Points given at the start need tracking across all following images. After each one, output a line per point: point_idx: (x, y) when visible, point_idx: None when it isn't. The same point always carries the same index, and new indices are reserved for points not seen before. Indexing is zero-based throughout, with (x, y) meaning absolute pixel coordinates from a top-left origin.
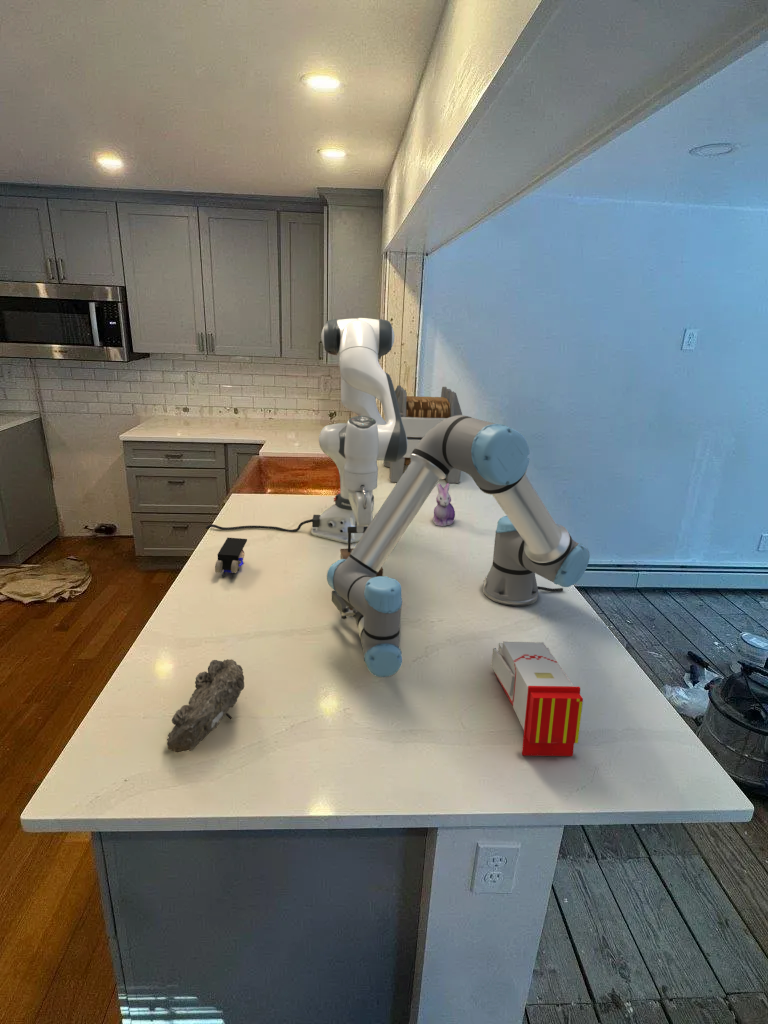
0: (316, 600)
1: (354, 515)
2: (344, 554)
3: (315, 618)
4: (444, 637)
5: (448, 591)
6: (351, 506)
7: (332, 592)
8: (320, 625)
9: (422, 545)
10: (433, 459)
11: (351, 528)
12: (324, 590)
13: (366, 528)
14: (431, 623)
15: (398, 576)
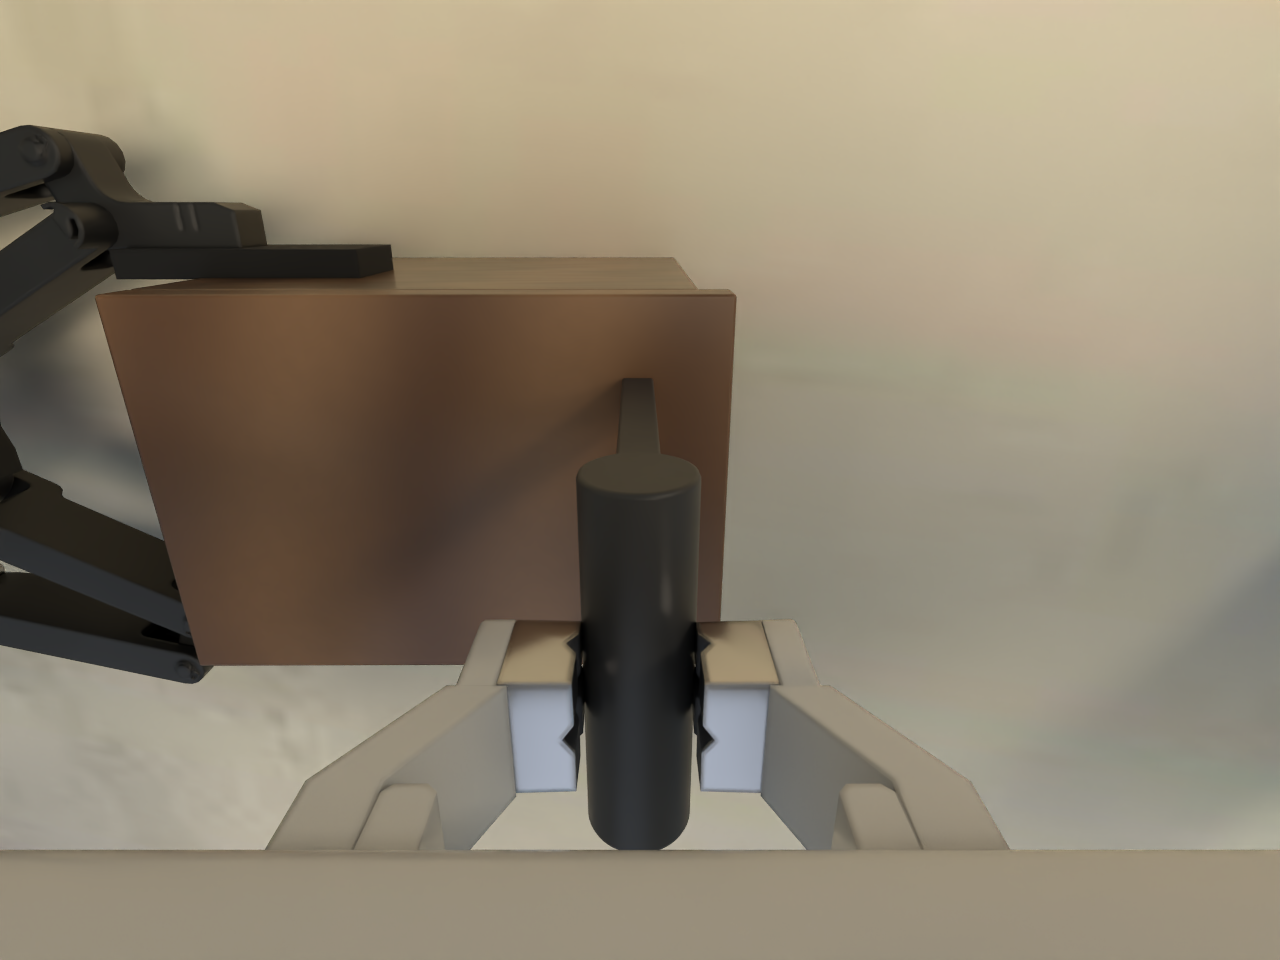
0: (510, 49)
1: (67, 921)
2: (553, 328)
3: (235, 23)
4: (133, 736)
5: (595, 844)
6: (1078, 918)
7: (14, 131)
8: (141, 59)
9: (1197, 844)
10: None
11: (591, 552)
12: (670, 130)
13: (598, 777)
14: (259, 710)
15: (808, 652)
